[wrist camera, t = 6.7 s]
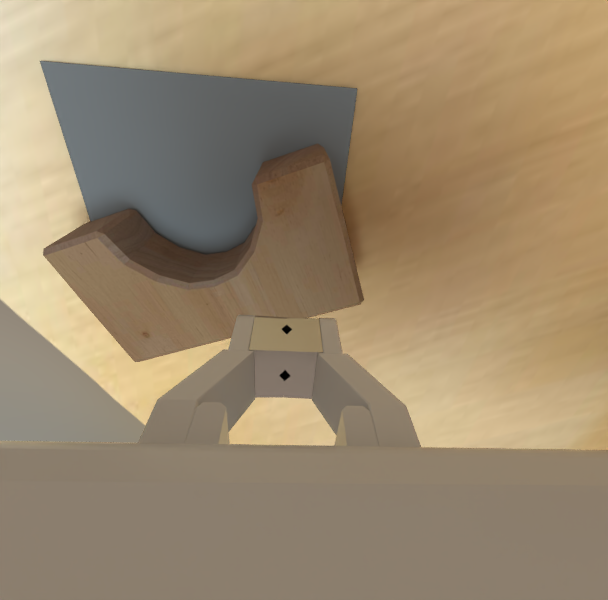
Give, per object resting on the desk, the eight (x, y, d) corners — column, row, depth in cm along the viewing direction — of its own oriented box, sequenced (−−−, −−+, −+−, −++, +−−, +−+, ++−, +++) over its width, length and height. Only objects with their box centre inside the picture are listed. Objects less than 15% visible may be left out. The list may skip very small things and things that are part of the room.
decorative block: (321, 139, 22) (82, 222, 25) (329, 154, 17) (33, 254, 20) (353, 269, 28) (158, 324, 31) (365, 306, 23) (134, 366, 26)
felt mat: (356, 88, 21) (357, 88, 20) (331, 273, 28) (331, 275, 28) (43, 61, 19) (39, 60, 19) (105, 261, 27) (103, 263, 27)
